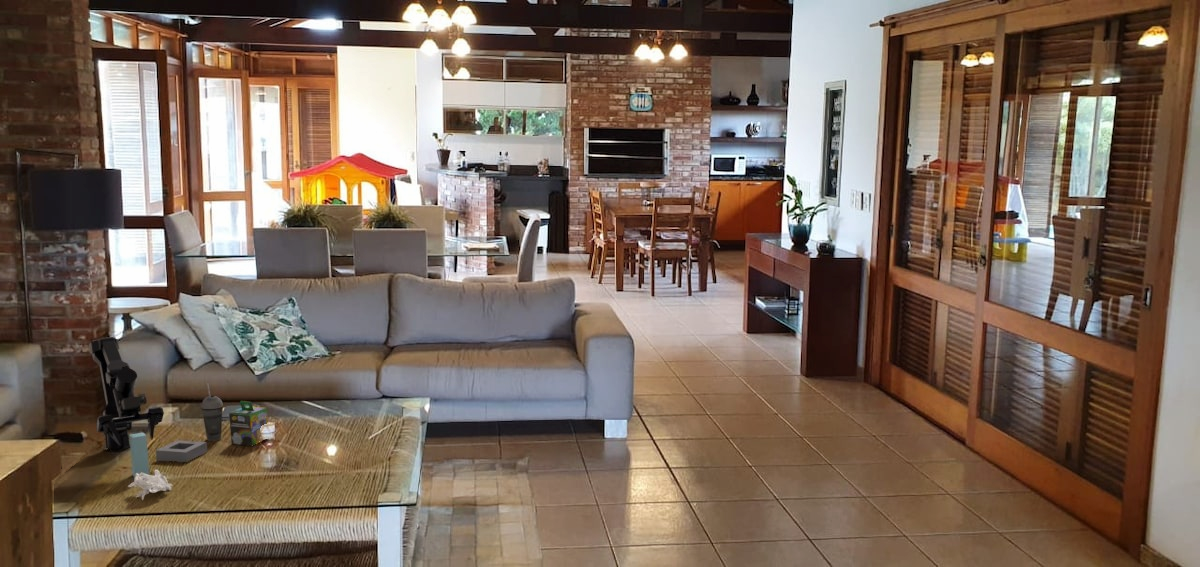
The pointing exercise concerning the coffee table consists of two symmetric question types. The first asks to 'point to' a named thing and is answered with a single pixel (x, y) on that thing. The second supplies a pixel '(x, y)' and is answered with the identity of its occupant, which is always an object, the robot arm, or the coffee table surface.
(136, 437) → the peg
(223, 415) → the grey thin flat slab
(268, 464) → the coffee table surface
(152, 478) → the white crumpled lump
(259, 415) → the chalk box
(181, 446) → the socket
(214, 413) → the beverage cup
